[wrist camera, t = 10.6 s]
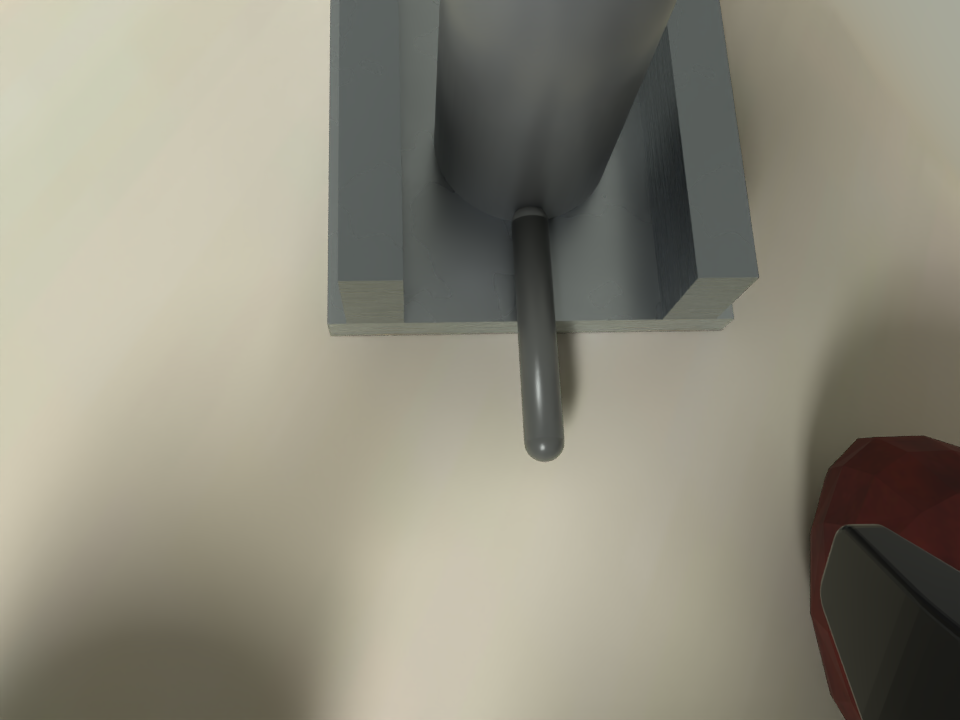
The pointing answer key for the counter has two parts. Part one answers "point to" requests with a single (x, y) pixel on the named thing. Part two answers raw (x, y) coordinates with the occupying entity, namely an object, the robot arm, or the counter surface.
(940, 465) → the potato
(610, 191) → the housing
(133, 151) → the counter surface
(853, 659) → the robot arm
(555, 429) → the plug
